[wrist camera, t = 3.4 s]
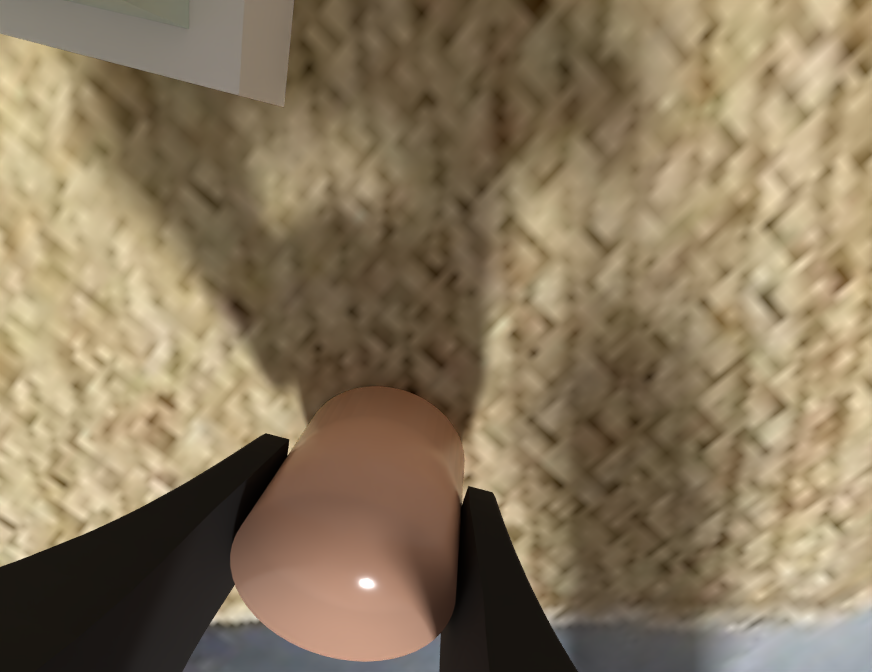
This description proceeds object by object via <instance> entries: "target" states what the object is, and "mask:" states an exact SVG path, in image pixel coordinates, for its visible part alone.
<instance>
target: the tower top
mask: <svg viewBox="0 0 872 672" xmlns="http://www.w3.org/2000/svg"><path fill="white" fill-rule="evenodd" d="M65 1H70V2H74V3H78V4H83V5H87V6H91V7H96V8H100V9H104V10H109V11H113V12H117V13H122V14H126V15H130V16H135V17H139V18H143V19H148V20H152V21H156V22H161V23H165V24H169V25H174V26H178V27H182V28H187V29H189V0H65Z"/></svg>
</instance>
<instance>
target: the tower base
mask: <svg viewBox="0 0 872 672" xmlns="http://www.w3.org/2000/svg"><path fill="white" fill-rule="evenodd" d="M293 8H294V0H189V29H187V28H182V27H178V26H174V25H169V24H165V23H161V22H156V21H152V20H148V19H143V18H139V17H135V16H130V15H126V14H122V13H117V12H113V11H109V10H104V9H100V8H96V7H91V6H87V5H83V4H78V3H74V2H70V1H65V0H0V34H4V35H8V36H12V37H16V38H19V39H23V40H27V41H31V42H35V43H39V44H42V45H46V46H50V47H54V48H58V49H62V50H66V51H69V52H73V53H77V54H81V55H85V56H89V57H93V58H96V59H100V60H104V61H108V62H112V63H116V64H119V65H123V66H127V67H131V68H135V69H139V70H143V71H146V72H150V73H154V74H158V75H162V76H166V77H169V78H173V79H177V80H181V81H185V82H189V83H193V84H196V85H200V86H204V87H208V88H212V89H216V90H219V91H223V92H227V93H231V94H235V95H239V96H243V97H246V98H250V99H254V100H258V101H262V102H266V103H269V104H273V105H277V106H281V107H284V103H285V93H286V82H287V72H288V61H289V50H290V40H291V29H292V19H293Z"/></svg>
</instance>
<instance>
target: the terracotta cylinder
mask: <svg viewBox="0 0 872 672" xmlns="http://www.w3.org/2000/svg"><path fill="white" fill-rule="evenodd" d="M464 462H465V460H464V451H463V447H462V443H461V440H460V438H459V435H458V433H457V432H456V430H455V428H454V426H453V425H452V424H451V422H450V421H449V420H448V418H447V417H446V416H445V415H444V414H443V413H442V412H441V411H440V410H439V409H437V408H436V407H435V406H434V405H432V404H431V403H429V402H428V401H426V400H424V399H423V398H421V397H419V396H417V395H415V394H412V393H410V392H407V391H404V390H401V389H396V388H391V387H382V386H368V387H361V388H355V389H352V390H348V391H345V392H343V393H341V394H339V395H337V396H335V397H333V398H332V399H330V400H329V401H327V402H326V403H325V404H324V405H323V406H322V407H321V408H320V409H319V410H318V411H317V413H316V414H315V415H314V417H313V418H312V420H311V421H310V423H309V424H308V426H307V427H306V429H305V430H304V432H303V433H302V435H301V436H300V438H299V439H298V441H297V442H296V444H295V445H294V447H293V448H292V450H291V451H290V453H289V454H288V456H287V457H286V459H285V460H284V462H283V463H282V465H281V467H280V468H279V470H278V471H277V473H276V474H275V476H274V477H273V479H272V480H271V482H270V483H269V485H268V486H267V488H266V489H265V491H264V492H263V494H262V495H261V497H260V498H259V500H258V501H257V503H256V504H255V506H254V507H253V509H252V510H251V512H250V513H249V515H248V516H247V518H246V519H245V521H244V522H243V524H242V525H241V527H240V529H239V530H238V532H237V534H236V536H235V538H234V541H233V544H232V548H231V554H230V567H231V572H232V578H233V580H234V583H235V586H236V589H237V590H238V592H239V594H240V596H241V598H242V600H243V601H244V602H245V604H246V605H247V607H248V608H249V609H250V610H251V612H252V613H253V614H254V615H255V616H256V617H257V618H258V619H259V620H260V621H261V622H262V623H263V624H264V625H265V626H267V627H268V628H269V629H271V630H272V631H273V632H275V633H276V634H277V635H279V636H281V637H282V638H284V639H285V640H287V641H289V642H291V643H293V644H295V645H297V646H299V647H301V648H304V649H306V650H308V651H311V652H314V653H317V654H320V655H323V656H327V657H332V658H336V659H342V660H350V661H381V660H388V659H393V658H397V657H401V656H404V655H407V654H410V653H412V652H415V651H417V650H419V649H421V648H422V647H424V646H426V645H427V644H429V643H430V642H431V641H433V640H434V639H435V638H436V637H437V636H438V635H439V634H440V633H441V632H442V631H443V629H444V628H445V627H446V625H447V624H448V622H449V620H450V618H451V616H452V614H453V610H454V606H455V600H456V586H457V571H458V555H459V540H460V524H461V509H462V493H463V478H464Z"/></svg>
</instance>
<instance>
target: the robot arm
mask: <svg viewBox="0 0 872 672" xmlns="http://www.w3.org/2000/svg"><path fill="white" fill-rule="evenodd" d="M288 446H289V439H286V438H282V437H278V436H274V435H270V434H266V433H265V434H264V435H262V436H260V437H258V438H257V439H255V440H254V441H252V442H251V443H249V444H247V445H246V446H244V447H243V448H241V449H240V450H238V451H237V452H235V453H234V454H232V455H230V456H229V457H227V458H226V459H224V460H223V461H221V462H219V463H218V464H216V465H215V466H213V467H211V468H210V469H208V470H206V471H205V472H203V473H201V474H200V475H198V476H196V477H195V478H193V479H192V480H190V481H188V482H186V483H185V484H183V485H181V486H179V487H178V488H176V489H174V490H172V491H170V492H169V493H167V494H165V495H163V496H161V497H159V498H158V499H156V500H154V501H152V502H150V503H149V504H147V505H145V506H143V507H141V508H139V509H137V510H135V511H133V512H131V513H129V514H127V515H125V516H123V517H121V518H119V519H117V520H115V521H112V522H110V523H108V524H106V525H104V526H102V527H99V528H97V529H95V530H93V531H91V532H88V533H86V534H84V535H81V536H79V537H76V538H74V539H71V540H69V541H66V542H64V543H61V544H59V545H56V546H54V547H51V548H49V549H46V550H44V551H41V552H39V553H36V554H34V555H31V556H29V557H26V558H24V559H21V560H18V561H16V562H13V563H10V564H7V565H4V566H2V567H0V672H182V671H183V670H184V668H185V666H186V664H187V662H188V660H189V658H190V656H191V654H192V653H193V651H194V649H195V647H196V646H197V644H198V642H199V641H200V639H201V637H202V636H203V634H204V632H205V630H206V629H207V627H208V626H209V624H210V623H211V621H212V619H213V618H214V616H215V615H216V613H217V612H218V610H219V609H220V607H221V605H222V604H223V602H224V601H225V599H226V598H227V596H228V594H229V593H230V591H231V590H232V588H233V587H234V585H235V583H234V580H233V578H232V572H231V567H230V554H231V548H232V544H233V541H234V538H235V536H236V534H237V532H238V530H239V529H240V527H241V525H242V524H243V522H244V521H245V519H246V518H247V516H248V515H249V513H250V512H251V510H252V509H253V507H254V506H255V504H256V503H257V501H258V500H259V498H260V497H261V495H262V494H263V492H264V491H265V489H266V488H267V486H268V485H269V483H270V482H271V480H272V479H273V477H274V476H275V474H276V473H277V471H278V470H279V468H280V467H281V465H282V463H283V462H284V460H285V459H286V457H287V454H288ZM440 672H578V671H577V669H576V668H575V666H574V665H573V663H572V661H571V660H570V658H569V656H568V655H567V653H566V651H565V650H564V648H563V646H562V644H561V643H560V641H559V639H558V638H557V636H556V634H555V632H554V630H553V629H552V627H551V625H550V623H549V621H548V619H547V617H546V616H545V614H544V612H543V610H542V608H541V606H540V604H539V602H538V600H537V598H536V596H535V594H534V592H533V590H532V588H531V586H530V583H529V581H528V579H527V577H526V575H525V572H524V570H523V568H522V566H521V563H520V561H519V559H518V556H517V554H516V552H515V549H514V547H513V545H512V542H511V540H510V537H509V534H508V532H507V529H506V527H505V524H504V521H503V518H502V516H501V513H500V510H499V507H498V504H497V501H496V498H495V496H494V494H493V492H489V491H485V490H481V489H478V488H474V487H470V486H468V489H467V492H466V495H465V498H464V501H463V504H462V509H461V524H460V540H459V555H458V571H457V586H456V600H455V606H454V610H453V614H452V616H451V618H450V620H449V622H448V624H447V625H446V627H445V628H444V629H443V631H442V632H441V643H440Z"/></svg>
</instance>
